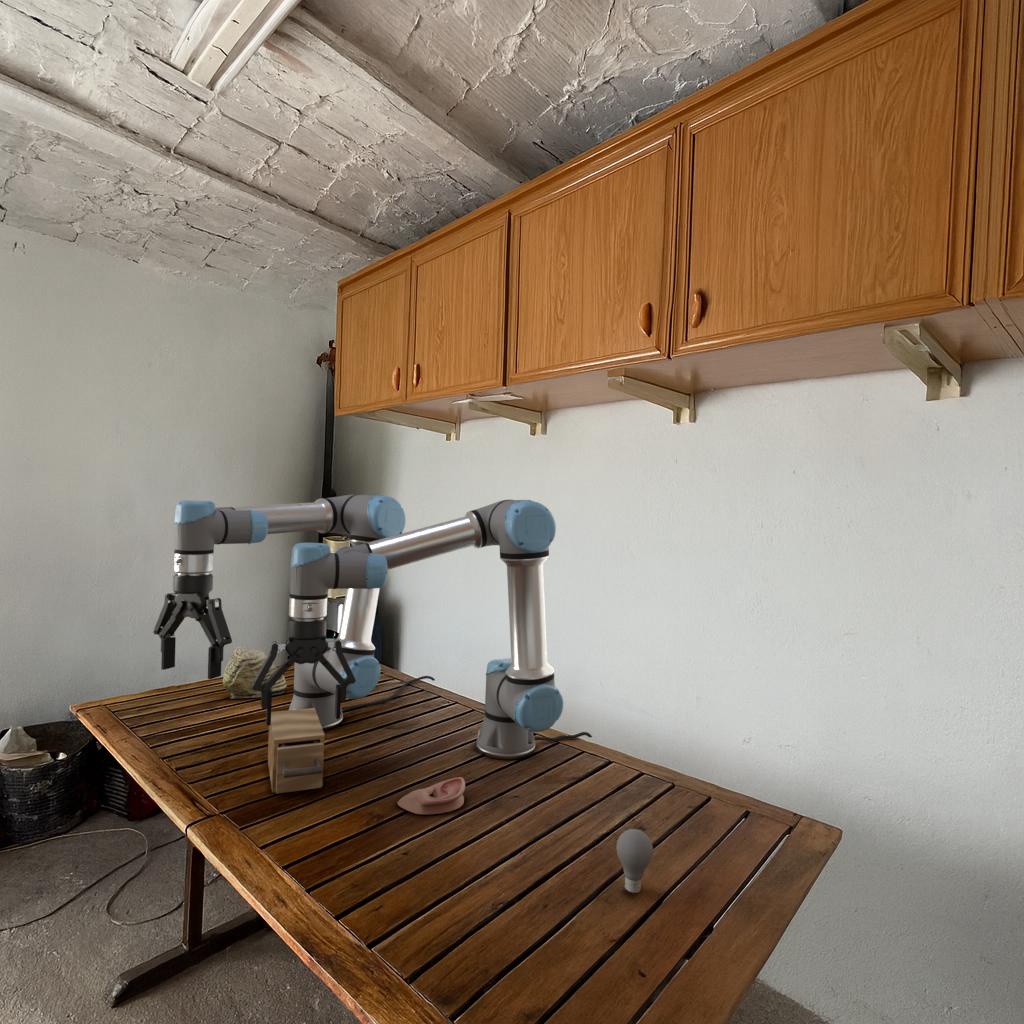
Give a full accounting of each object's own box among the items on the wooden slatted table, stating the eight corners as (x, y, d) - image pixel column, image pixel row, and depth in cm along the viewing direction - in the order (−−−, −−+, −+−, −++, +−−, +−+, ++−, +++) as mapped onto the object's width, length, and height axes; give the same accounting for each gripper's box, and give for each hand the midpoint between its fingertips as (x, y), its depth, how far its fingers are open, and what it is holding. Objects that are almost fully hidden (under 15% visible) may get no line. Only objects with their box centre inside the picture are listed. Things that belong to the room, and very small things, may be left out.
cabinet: (322, 785, 139) (324, 734, 139) (272, 792, 135) (274, 740, 134) (313, 753, 156) (314, 707, 155) (267, 758, 151) (269, 711, 151)
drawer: (325, 799, 131) (327, 754, 130) (277, 806, 127) (279, 760, 127) (312, 756, 152) (314, 717, 151) (271, 761, 148) (272, 721, 148)
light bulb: (610, 879, 108) (613, 822, 108) (644, 879, 109) (647, 822, 109) (619, 902, 102) (622, 840, 102) (655, 901, 103) (658, 840, 103)
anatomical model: (392, 791, 129) (412, 768, 140) (391, 810, 129) (411, 786, 140) (454, 800, 126) (470, 776, 137) (454, 820, 126) (469, 794, 137)
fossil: (218, 695, 195) (220, 647, 195) (278, 685, 208) (279, 640, 207) (228, 703, 189) (230, 653, 188) (289, 692, 201) (290, 645, 201)
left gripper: (136, 570, 136) (133, 668, 136) (222, 580, 126) (219, 686, 126) (167, 567, 142) (165, 660, 143) (251, 576, 133) (248, 676, 133)
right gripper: (242, 623, 122) (237, 732, 123) (372, 619, 132) (367, 720, 133) (242, 616, 129) (237, 719, 129) (365, 613, 139) (361, 708, 139)
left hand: (190, 672), depth 135 cm, fingers open, 13 cm apart
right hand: (303, 720), depth 131 cm, fingers open, 13 cm apart
